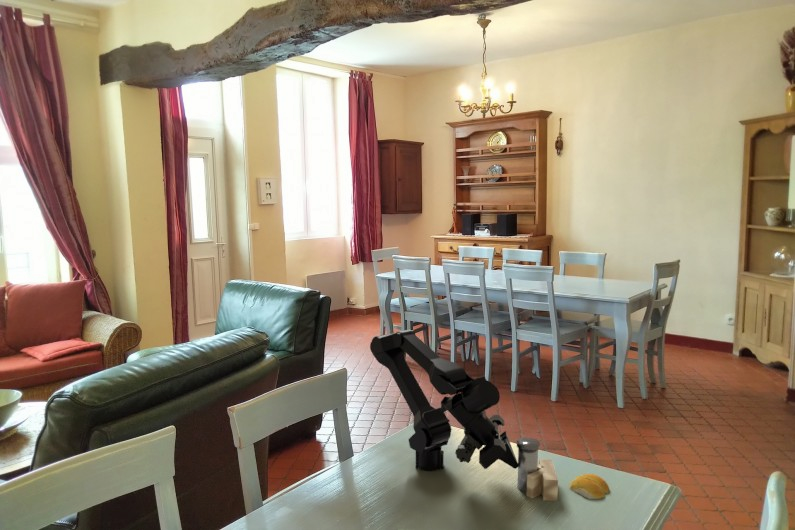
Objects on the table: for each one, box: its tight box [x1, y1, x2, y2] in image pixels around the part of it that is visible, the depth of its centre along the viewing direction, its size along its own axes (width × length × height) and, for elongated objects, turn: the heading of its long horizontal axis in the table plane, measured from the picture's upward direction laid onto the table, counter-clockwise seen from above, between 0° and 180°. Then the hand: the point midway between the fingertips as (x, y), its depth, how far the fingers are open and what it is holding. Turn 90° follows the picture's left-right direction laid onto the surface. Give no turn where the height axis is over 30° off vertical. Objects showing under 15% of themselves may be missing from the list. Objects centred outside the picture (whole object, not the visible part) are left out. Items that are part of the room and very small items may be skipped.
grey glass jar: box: [516, 437, 541, 493], centre depth 131 cm, size 5×5×11 cm
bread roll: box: [568, 473, 610, 500], centre depth 132 cm, size 8×9×4 cm
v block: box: [526, 458, 559, 502], centre depth 131 cm, size 6×10×5 cm, turn 172°
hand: (516, 467), depth 131 cm, fingers closed, pressing on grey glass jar
